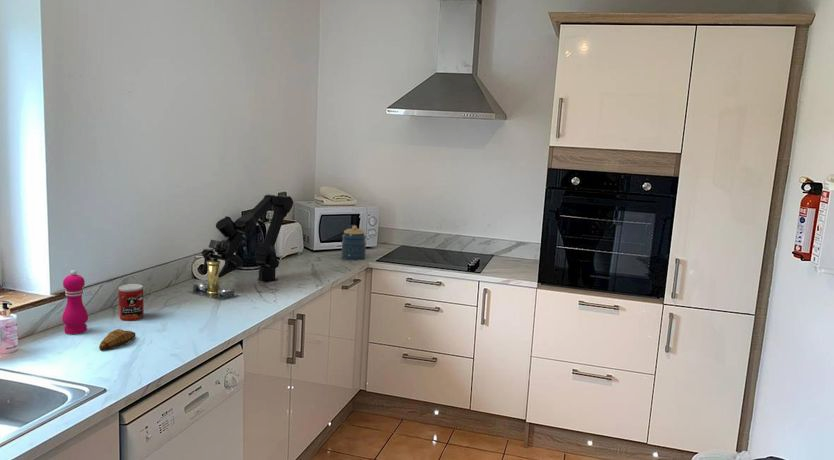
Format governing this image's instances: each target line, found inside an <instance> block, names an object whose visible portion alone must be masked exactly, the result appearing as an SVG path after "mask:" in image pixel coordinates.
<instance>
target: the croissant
mask: <svg viewBox="0 0 834 460" xmlns="http://www.w3.org/2000/svg"><path fill="white" fill-rule="evenodd" d="M136 336H137V335H136V332H134V331H131V330H124V329H121V328H117V329H115V330H112V331H110V332H109V333H107V335H105V337H104V338H103V339H102V340H101V342H100V343H99V346H98V349H99V350H100V351H105V350H106V351H107V350H111V349H114V348H116V347H117V348H118V347H120V346H125V345H126V344H128V343H129V342H131V341H133V340H134V339H135V338H136Z"/></svg>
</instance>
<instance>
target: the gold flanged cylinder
mask: <svg viewBox="0 0 834 460" xmlns="http://www.w3.org/2000/svg"><path fill="white" fill-rule="evenodd" d="M220 264H221V261H220V260H219V259H218V260H209V261H207V265H208V271H207V284H208V290H207V294H209V295H216V294H218V289H219V288H220V278H219V277H218V275H219V273H220Z"/></svg>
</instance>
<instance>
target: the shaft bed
mask: <svg viewBox="0 0 834 460" xmlns="http://www.w3.org/2000/svg"><path fill="white" fill-rule="evenodd" d="M207 290H208V283H204V282H199V281H198V282H196V283H195V284H192V290H189V291H187V292H188V293H191V294H195V295H199V296H202V297H206V298H210V299H215V300H218V301H224V300H228V299H232V298H235V297H238V296H240V294H236V293H235V290H234V289H229V288H225V287H219V289H218V294H216V295H209V294H207Z"/></svg>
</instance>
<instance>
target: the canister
mask: <svg viewBox="0 0 834 460" xmlns="http://www.w3.org/2000/svg"><path fill="white" fill-rule="evenodd" d="M365 233H366V232H365V231H364V230H363V229H362V228H358V226H357V225H355V224H354V225H352V227H351V228H346V229H345V230H344V231H343V234H342V235H341V237H342V241H341V258H342V257H343V258H342V259H344V258H347V259H346V260H348V259H361V260H363V259H362V258H366V255H367V254H366V251H367V250H366V249H367V241H366V238H367V235H365Z"/></svg>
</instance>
